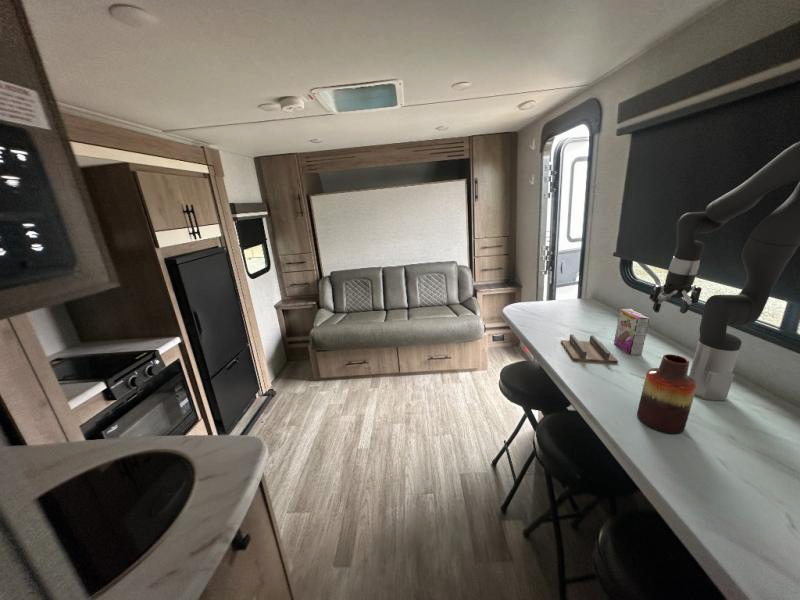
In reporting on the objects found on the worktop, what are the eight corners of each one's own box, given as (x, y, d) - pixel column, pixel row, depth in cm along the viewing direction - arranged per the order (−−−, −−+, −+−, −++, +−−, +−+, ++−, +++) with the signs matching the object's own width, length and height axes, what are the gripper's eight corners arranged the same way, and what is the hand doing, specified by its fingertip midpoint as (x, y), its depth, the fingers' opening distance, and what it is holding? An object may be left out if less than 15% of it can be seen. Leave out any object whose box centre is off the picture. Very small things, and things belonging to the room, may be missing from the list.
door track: (600, 344, 139) (601, 335, 138) (617, 363, 124) (619, 353, 122) (560, 342, 142) (562, 334, 141) (572, 360, 127) (574, 351, 125)
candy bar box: (612, 343, 140) (619, 308, 135) (624, 343, 140) (631, 308, 135) (629, 355, 129) (637, 318, 124) (642, 355, 129) (650, 317, 124)
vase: (636, 405, 99) (650, 346, 93) (682, 418, 93) (699, 355, 87) (636, 425, 91) (651, 361, 85) (686, 440, 85) (706, 373, 79)
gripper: (665, 273, 109) (652, 316, 116) (714, 274, 106) (698, 317, 113) (653, 266, 116) (642, 307, 122) (699, 267, 113) (685, 308, 120)
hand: (669, 312), depth 118 cm, fingers open, 8 cm apart
